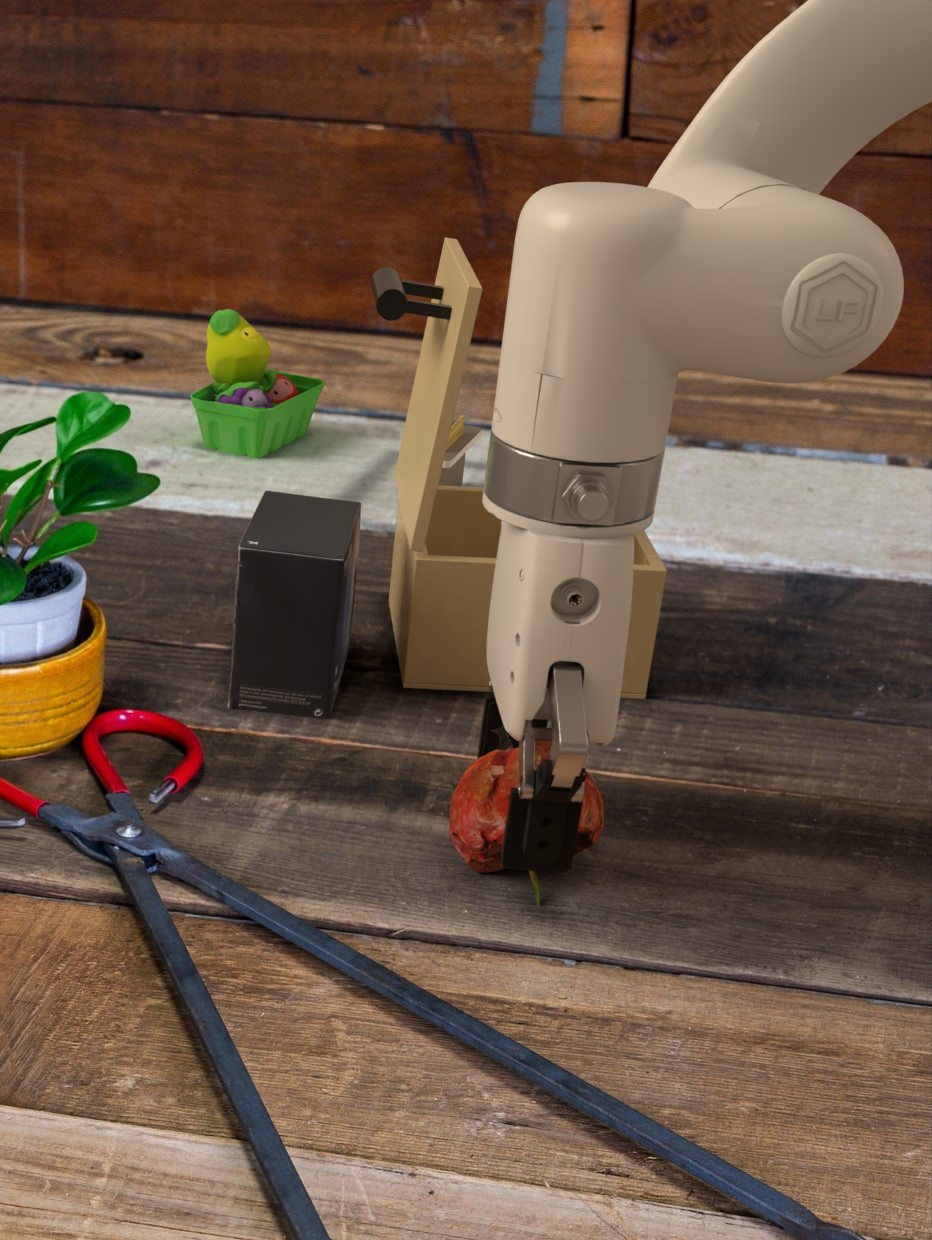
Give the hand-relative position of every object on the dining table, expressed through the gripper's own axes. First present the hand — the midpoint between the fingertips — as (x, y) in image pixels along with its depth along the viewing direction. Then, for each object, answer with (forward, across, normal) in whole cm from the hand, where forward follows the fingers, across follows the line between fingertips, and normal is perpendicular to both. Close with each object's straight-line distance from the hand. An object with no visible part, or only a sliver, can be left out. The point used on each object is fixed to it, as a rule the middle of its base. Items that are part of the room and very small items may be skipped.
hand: (520, 815), depth 82 cm
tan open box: (+3, +27, -3) cm, 28 cm away
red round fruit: (+4, 0, 0) cm, 4 cm away
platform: (+4, +56, -1) cm, 56 cm away
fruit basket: (+4, +69, +14) cm, 71 cm away
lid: (-13, +27, +3) cm, 30 cm away
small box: (+4, +21, +11) cm, 24 cm away
